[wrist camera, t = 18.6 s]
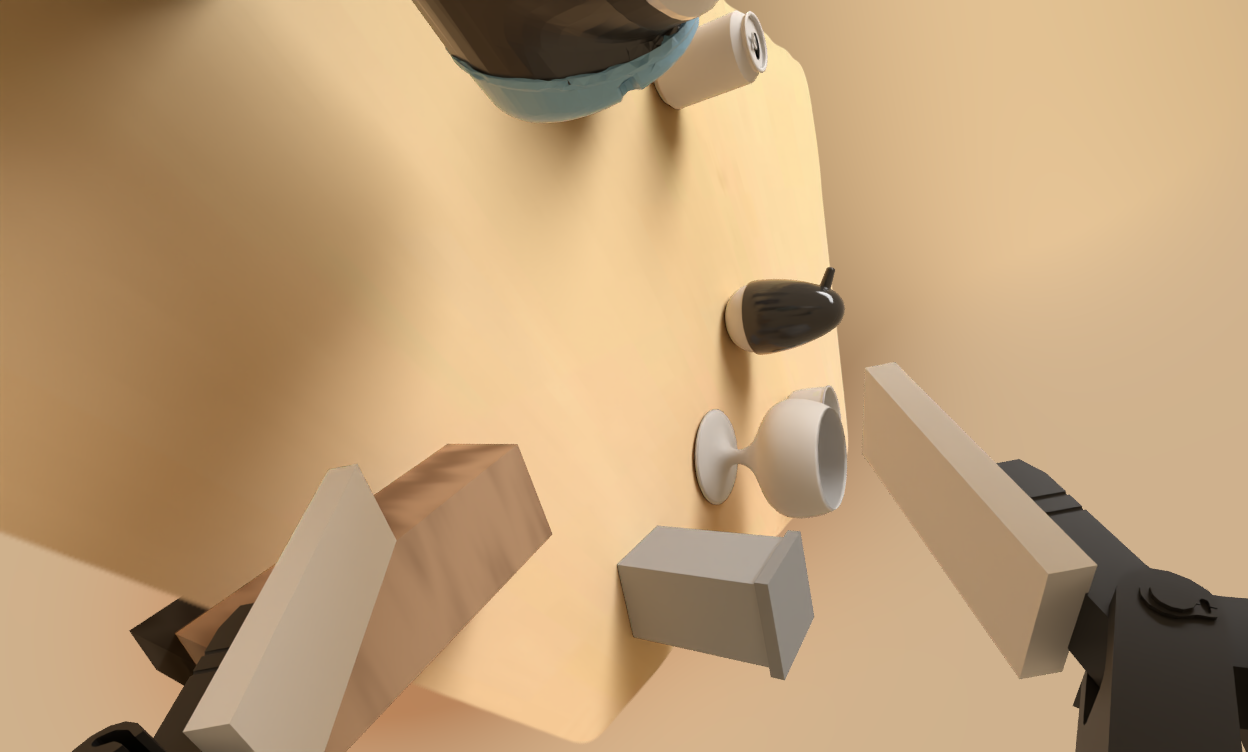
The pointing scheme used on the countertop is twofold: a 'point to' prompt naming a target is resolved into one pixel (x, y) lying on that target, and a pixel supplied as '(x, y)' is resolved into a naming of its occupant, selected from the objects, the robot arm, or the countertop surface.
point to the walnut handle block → (401, 577)
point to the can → (716, 61)
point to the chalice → (778, 458)
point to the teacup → (818, 396)
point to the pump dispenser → (782, 313)
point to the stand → (720, 594)
